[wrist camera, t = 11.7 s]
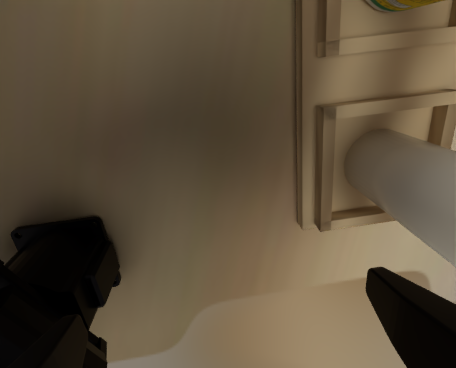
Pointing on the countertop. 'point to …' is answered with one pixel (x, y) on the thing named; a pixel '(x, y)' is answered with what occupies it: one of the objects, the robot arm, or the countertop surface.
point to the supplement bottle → (399, 4)
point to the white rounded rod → (408, 184)
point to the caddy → (366, 95)
